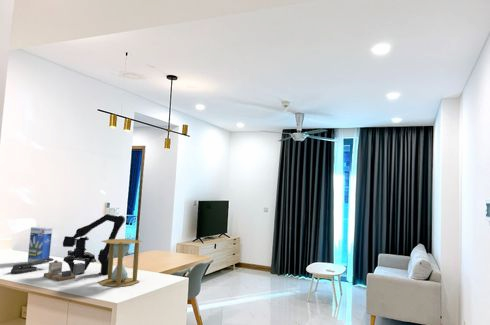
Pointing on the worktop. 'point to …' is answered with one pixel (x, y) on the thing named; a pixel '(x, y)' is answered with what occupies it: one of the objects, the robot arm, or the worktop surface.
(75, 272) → the block
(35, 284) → the worktop surface
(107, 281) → the hourglass
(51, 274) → the rail board
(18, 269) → the dark grey stapler
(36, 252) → the blue printed box
